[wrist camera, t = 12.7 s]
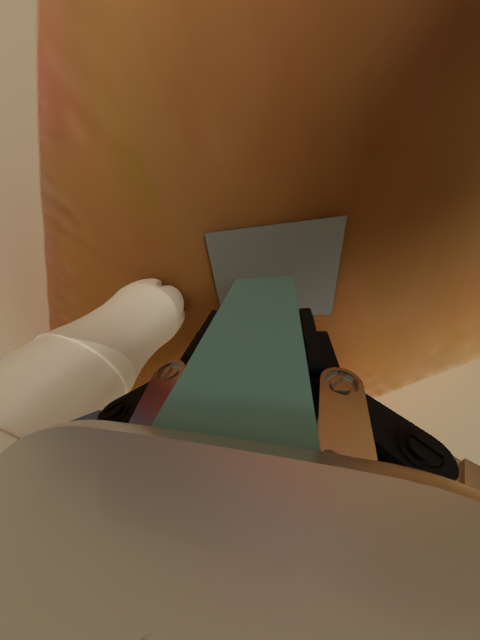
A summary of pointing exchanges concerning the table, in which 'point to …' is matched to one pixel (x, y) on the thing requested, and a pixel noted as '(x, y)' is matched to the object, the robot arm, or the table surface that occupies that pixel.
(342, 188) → the table surface
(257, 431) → the stick
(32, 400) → the water bottle
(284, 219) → the table surface
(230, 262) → the mat
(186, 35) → the table surface
